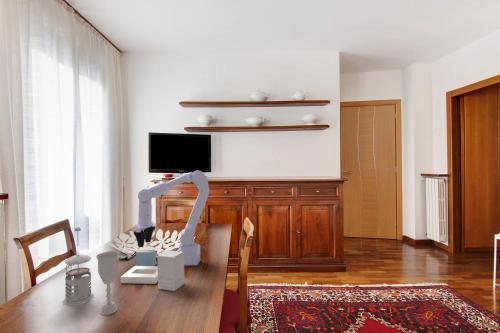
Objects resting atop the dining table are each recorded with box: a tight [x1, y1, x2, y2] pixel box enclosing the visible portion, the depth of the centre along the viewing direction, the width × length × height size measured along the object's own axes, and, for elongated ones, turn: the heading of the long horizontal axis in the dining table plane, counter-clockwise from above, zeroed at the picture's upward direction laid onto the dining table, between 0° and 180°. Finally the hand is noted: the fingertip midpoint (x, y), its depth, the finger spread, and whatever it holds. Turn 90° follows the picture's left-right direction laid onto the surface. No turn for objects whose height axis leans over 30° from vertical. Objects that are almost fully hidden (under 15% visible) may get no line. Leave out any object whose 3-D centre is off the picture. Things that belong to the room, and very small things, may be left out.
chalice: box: [95, 250, 120, 316], centre depth 92 cm, size 7×7×18 cm
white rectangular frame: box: [120, 265, 158, 285], centre depth 119 cm, size 14×12×2 cm
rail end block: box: [135, 249, 157, 266], centre depth 132 cm, size 8×4×7 cm, turn 87°
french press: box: [61, 227, 95, 307], centre depth 101 cm, size 10×12×25 cm
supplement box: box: [156, 249, 185, 292], centre depth 110 cm, size 7×7×13 cm
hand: (144, 244), depth 132 cm, fingers open, 7 cm apart
